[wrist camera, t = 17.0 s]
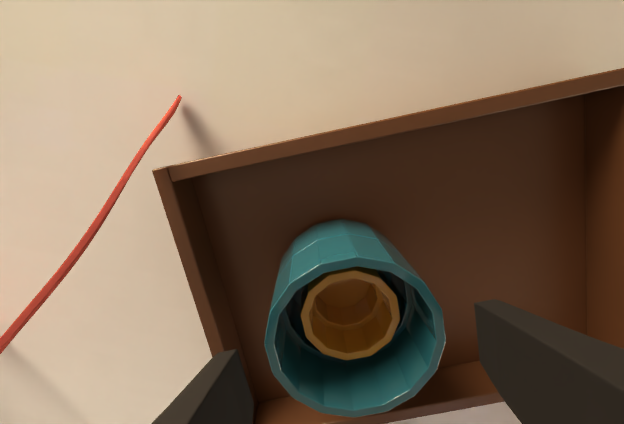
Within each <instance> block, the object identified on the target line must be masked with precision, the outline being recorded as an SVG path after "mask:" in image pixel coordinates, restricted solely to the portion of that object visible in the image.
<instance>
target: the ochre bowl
mask: <svg viewBox="0 0 624 424" xmlns="http://www.w3.org/2000/svg"><path fill="white" fill-rule="evenodd" d="M300 316H301V320H302V324H303V328H304V333H305V336H306V338H307V339H308V340H309V341H310V342H311V343H312V344H313V345H314V346H315V347H316V348H317V349H318V350H319V351H320V352H321V353H322V354H325V355H328V356H332V357H335V358H339V359H343V360H352V359H358V358H363V357H368V356H372V355H373V354H374V353H376V352H377V351H378V350H380V349H381V348H382V347H384V346H385V345H386V344H388V343H389V342H390V341H391V340H392V337H393V335H394V333H395V330H396V328H397V326H398V324H399V321H400V313H399V306H398V300H397V296H396V294H395V292H394V290H393V289H392V287H391V285H390V283H389V282H388V280H387V278H386V277H385V275H384V273H383V272H382V270H376V269H370V268H364V267H359V266H356V267H351V268H346V269H341V270H336V271H331V272H326V273H323V274H322V275H320V276H319V277H317V278H315V279H314V280H312V281H311V282H309V283H308V284H306V285H304V286H303V287H302V292H301V312H300Z"/></svg>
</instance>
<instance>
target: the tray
mask: <svg viewBox="0 0 624 424" xmlns="http://www.w3.org/2000/svg"><path fill="white" fill-rule="evenodd" d="M152 172H153V175H154V178H155V181H156V184H157V187H158V190H159V193H160V196H161V200H162V203H163V206H164V209H165V212H166V215H167V218H168V221H169V224H170V227H171V230H172V233H173V237H174V240H175V243H176V246H177V249H178V252H179V255H180V258H181V261H182V264H183V267H184V270H185V274H186V277H187V280H188V283H189V286H190V289H191V292H192V295H193V298H194V301H195V304H196V307H197V311H198V314H199V317H200V320H201V323H202V326H203V329H204V332H205V335H206V338H207V341H208V344H209V348H210V351H211V354H212V357H214V356H215V355H216V354H217V353H219V352H224V351H229V350H234V349H238V353H239V356H240V359H241V363H242V366H243V369H244V373H245V376H246V379H247V383H248V386H249V389H250V393H251V396H252V399H253V403H254V411H253V422H252V424H384V423H389V422H395V421H400V420H406V419H411V418H417V417H422V416H428V415H433V414H438V413H444V412H449V411H455V410H460V409H466V408H471V407H477V406H482V405H488V404H493V403H498V402H504V400H503V398H502V397H501V396H500V394H499V392H498V391H497V389H496V388H495V386H494V385H493V383H492V381H491V380H490V378H489V376H488V375H487V373H486V371H485V370H484V368H483V366H482V365H481V363H480V359H479V349H478V339H477V329H476V319H475V309H474V303H476V302H481V301H487V300H492V299H496V300H499V301H502V302H505V303H508V304H510V305H513V306H515V307H518V308H520V309H523V310H525V311H528V312H530V313H532V314H535V315H537V316H540V317H542V318H545V319H547V320H550V321H552V322H554V323H557V324H559V325H562V326H564V327H567V328H569V329H572V330H574V331H577V332H580V333H582V334H585V335H587V336H590V337H593V338H595V339H598V340H601V341H603V342H606V343H609V344H612V345H614V346H617V347H620V348H623V349H624V68H621V69H616V70H612V71H607V72H602V73H598V74H593V75H589V76H584V77H579V78H575V79H570V80H565V81H561V82H556V83H551V84H547V85H542V86H537V87H533V88H528V89H524V90H519V91H514V92H510V93H505V94H500V95H496V96H491V97H486V98H482V99H477V100H472V101H468V102H463V103H459V104H454V105H449V106H445V107H440V108H435V109H431V110H426V111H421V112H417V113H412V114H407V115H403V116H398V117H394V118H389V119H384V120H380V121H375V122H370V123H366V124H361V125H356V126H352V127H347V128H342V129H338V130H333V131H329V132H324V133H319V134H315V135H310V136H305V137H301V138H296V139H291V140H287V141H282V142H278V143H273V144H268V145H264V146H259V147H254V148H250V149H245V150H240V151H236V152H231V153H226V154H222V155H217V156H213V157H208V158H203V159H199V160H194V161H189V162H185V163H180V164H175V165H171V166H166V167H161V168H157V169H153V170H152ZM338 219H345V220H351V221H356V222H362V223H365V224H368V225H369V226H371V227H373V228H374V229H376V230H377V231H379V232H380V233H382V234H383V235H385V236H386V237H387V238H388V239H389V240H390V241H391V243H392V244H393V245H394V246H395V247H396V249H397V250H398V251H399V252H400V253H401V255H402V256H403V257H404V258H405V259H406V260H407V262H408V263H409V264H410V265H411V266H412V268H413V269H414V270H415V271H416V272H417V274H418V275H419V276H420V277H421V278H422V280H423V281H424V282H425V283H426V285H427V286H428V288H429V290H430V291H431V293H432V294H433V296H434V297H435V299H436V300H437V302H438V303H439V305H440V306H441V308H442V312H443V320H444V328H445V335H446V343H445V346H444V349H443V352H442V355H441V359H440V362H439V365H438V368H437V370H436V372H435V373H434V374H433V376H432V377H431V378H430V379H429V380H428V382H427V383H426V384H425V385H424V386H423V387H422V389H421V390H420V391H419V392H418V393H417V394H416V395H415V396H414V397H412V398H410V399H409V400H407V401H405V402H403V403H401V404H400V405H398V406H396V407H394V408H393V409H391V410H389V411H386V412H383V413H377V414H372V415H367V416H361V417H356V418H354V417H353V418H351V417H344V416H337V415H330V414H323V413H320V412H318V411H316V410H314V409H312V408H310V407H308V406H307V405H305V404H303V403H301V402H299V401H297V400H295V399H293V398H292V397H291V396H290V394H289V393H288V392H287V391H286V390H285V388H284V387H283V386H282V385H281V384H280V382H279V381H278V380H277V379H276V378H275V376H274V375H273V373H272V371H271V367H270V364H269V360H268V356H267V353H266V349H265V346H264V340H265V335H266V329H267V323H268V317H269V312H270V307H271V303H272V299H273V294H274V290H275V285H276V281H277V276H278V272H279V268H280V263H281V259H282V257H283V255H284V254H285V252H286V251H287V249H288V248H289V246H290V245H291V243H292V242H293V240H294V239H296V237H297V236H299V235H300V234H302V233H303V232H305V231H306V230H308V229H309V228H311V227H312V226H314V225H316V224H318V223H323V222H328V221H333V220H338Z"/></svg>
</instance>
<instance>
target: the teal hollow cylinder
mask: <svg viewBox="0 0 624 424" xmlns="http://www.w3.org/2000/svg"><path fill="white" fill-rule="evenodd" d="M356 266H359V267H364V268H370V269H376V270H382V272H383V273H384V275H385V277H386V278H387V280H388V282H389V283H390V285H391V287H392V289H393V290H394V292H395V294H396V296H397V300H398V306H399V313H400V321H399V324H398V326H397V328H396V330H395V333H394V335H393V337H392V340H391V341H390V342H389V343H388V344H386V345H385V346H384V347H382V348H381V349H380V350H378V351H377V352H376V353H374V354H373V355H372V356H368V357H363V358H358V359H352V360H343V359H339V358H335V357H332V356H328V355H325V354H322V353H321V352H320V351H319V350H318V349H317V348H316V347H315V346H314V345H313V344H312V343H311V342H310V341H309V340H308V339H307V338H306V336H305V333H304V328H303V324H302V320H301V316H300V312H301V292H302V287H303V286H304V285H306V284H308V283H309V282H311V281H312V280H314V279H315V278H317V277H319V276H320V275H322V274H323V273H326V272H331V271H336V270H341V269H346V268H351V267H356ZM445 343H446V335H445V328H444V320H443V312H442V308H441V306H440V305H439V303H438V302H437V300H436V299H435V297H434V296H433V294H432V293H431V291H430V290H429V288H428V286H427V285H426V283H425V282H424V281H423V280H422V278H421V277H420V276H419V275H418V274H417V272H416V271H415V270H414V269H413V268H412V266H411V265H410V264H409V263H408V262H407V260H406V259H405V258H404V257H403V256H402V255H401V253H400V252H399V251H398V250H397V249H396V247H395V246H394V245H393V244H392V243H391V241H390V240H389V239H388V238H387V237H386V236H385V235H383V234H382V233H380V232H379V231H377V230H376V229H374V228H373V227H371V226H369V225H368V224H365V223H362V222H356V221H351V220H345V219H338V220H333V221H328V222H323V223H318V224H316V225H314V226H312V227H311V228H309V229H308V230H306V231H305V232H303V233H302V234H300V235H299V236H297V237H296V239H294V240H293V242H292V243H291V245H290V246H289V248H288V249H287V251H286V252H285V254H284V255H283V257H282V259H281V263H280V268H279V272H278V276H277V281H276V285H275V290H274V294H273V299H272V303H271V307H270V312H269V317H268V323H267V329H266V335H265V340H264V346H265V349H266V353H267V356H268V360H269V364H270V367H271V371H272V373H273V375H274V376H275V378H276V379H277V380H278V381H279V382H280V384H281V385H282V386H283V387H284V388H285V390H286V391H287V392H288V393H289V394H290V396H291V397H292V398H293V399H295V400H297V401H299V402H301V403H303V404H305V405H307V406H308V407H310V408H312V409H314V410H316V411H318V412H320V413H323V414H330V415H337V416H344V417H351V418H353V417H354V418H356V417H361V416H367V415H372V414H377V413H383V412H386V411H389V410H391V409H393V408H394V407H396V406H398V405H400V404H401V403H403V402H405V401H407V400H409V399H410V398H412V397H414V396H415V395H416V394H417V393H418V392H419V391H420V390H421V389H422V387H423V386H424V385H425V384H426V383H427V382H428V380H429V379H430V378H431V377H432V376H433V374H434V373H435V372H436V370H437V368H438V365H439V362H440V359H441V355H442V352H443V349H444V346H445Z"/></svg>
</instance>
